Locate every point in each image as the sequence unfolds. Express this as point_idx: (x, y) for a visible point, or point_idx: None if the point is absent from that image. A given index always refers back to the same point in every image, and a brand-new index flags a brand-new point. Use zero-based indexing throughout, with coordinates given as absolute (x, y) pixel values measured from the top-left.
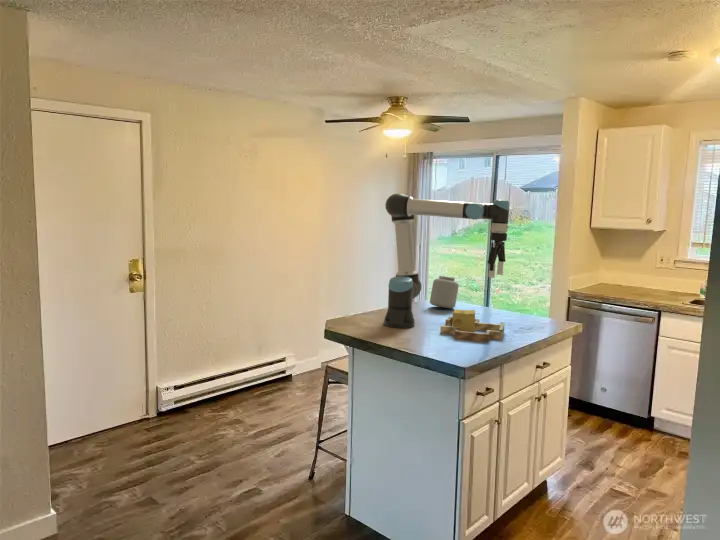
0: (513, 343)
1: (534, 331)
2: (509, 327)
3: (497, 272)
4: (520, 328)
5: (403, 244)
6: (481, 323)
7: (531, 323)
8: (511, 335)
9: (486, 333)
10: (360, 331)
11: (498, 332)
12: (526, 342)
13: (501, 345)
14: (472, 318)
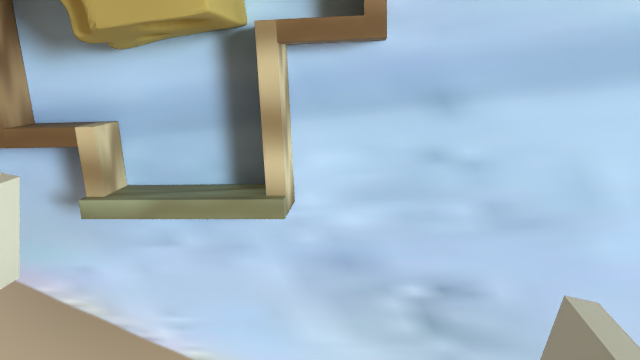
0: (75, 256)
1: (391, 352)
2: (436, 225)
3: (581, 334)
4: (436, 284)
5: None
6: (258, 71)
7: None
8: (234, 242)
9: (6, 133)
10: None
11: (87, 192)
12: (128, 311)
13: None
14: (73, 22)
